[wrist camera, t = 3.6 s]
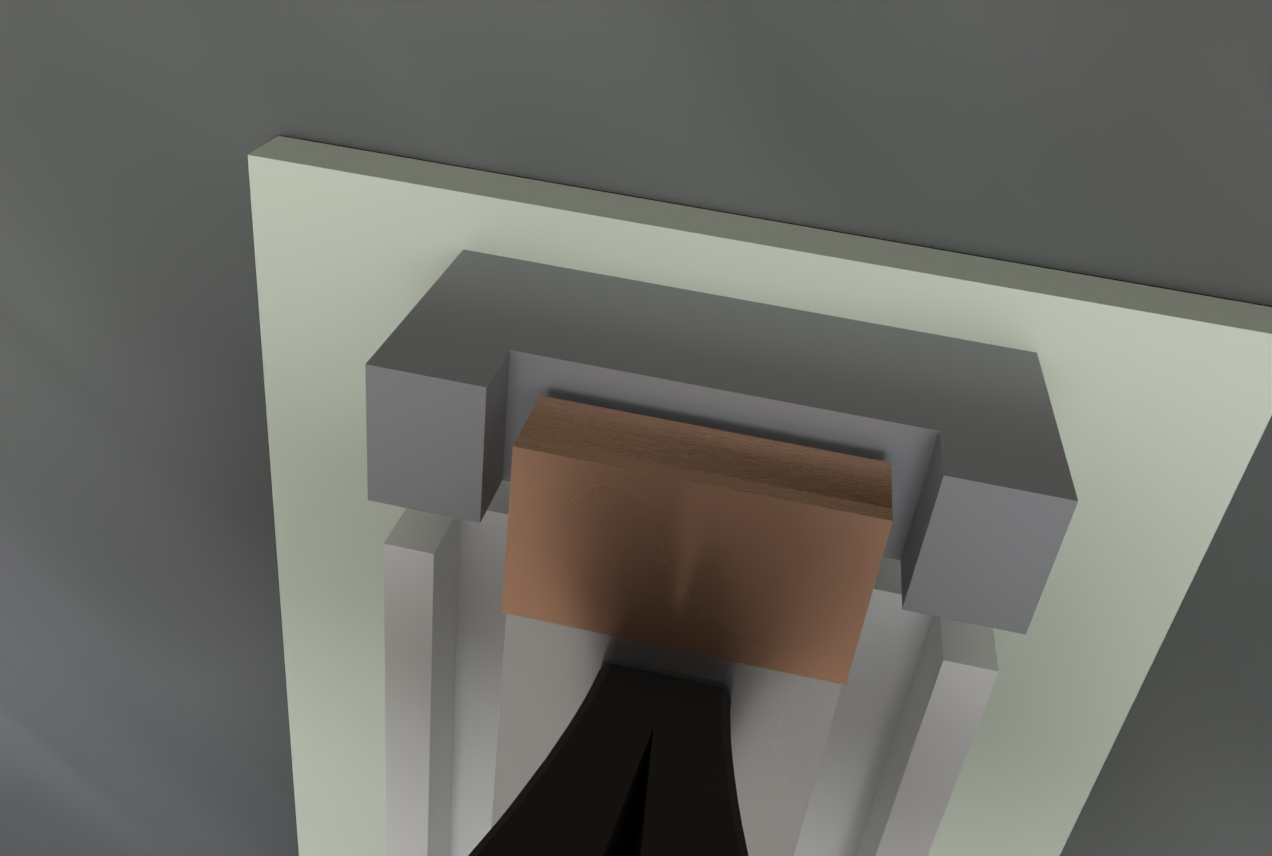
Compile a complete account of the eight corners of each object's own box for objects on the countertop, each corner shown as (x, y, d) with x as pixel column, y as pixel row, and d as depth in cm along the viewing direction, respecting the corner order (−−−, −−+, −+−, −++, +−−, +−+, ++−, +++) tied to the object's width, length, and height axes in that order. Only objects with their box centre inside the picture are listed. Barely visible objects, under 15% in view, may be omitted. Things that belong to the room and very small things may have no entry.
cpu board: (905, 1130, 22) (910, 1363, 19) (327, 986, 23) (239, 1182, 20) (1284, 309, 13) (1426, 495, 9) (278, 136, 14) (95, 247, 11)
